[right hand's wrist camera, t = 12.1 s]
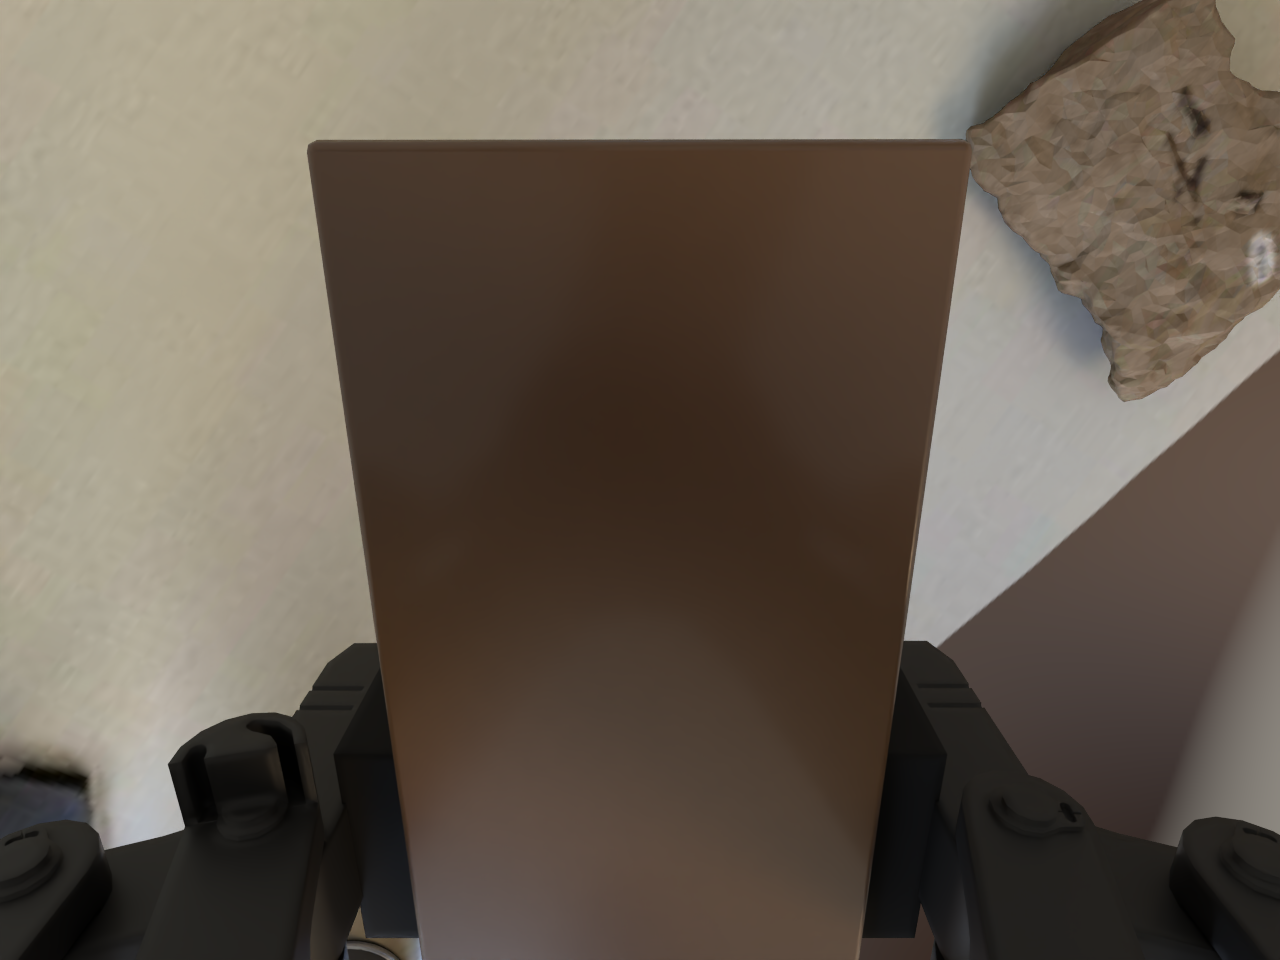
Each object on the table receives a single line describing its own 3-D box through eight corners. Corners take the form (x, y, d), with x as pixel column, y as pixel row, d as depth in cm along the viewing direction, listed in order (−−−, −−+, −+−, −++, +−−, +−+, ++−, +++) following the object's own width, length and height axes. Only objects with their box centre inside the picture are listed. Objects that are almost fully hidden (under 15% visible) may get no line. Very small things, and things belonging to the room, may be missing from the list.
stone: (1362, 260, 46) (1425, 271, 41) (1115, 398, 53) (1142, 423, 47) (1176, -39, 44) (1217, -68, 38) (941, 145, 50) (948, 142, 45)
